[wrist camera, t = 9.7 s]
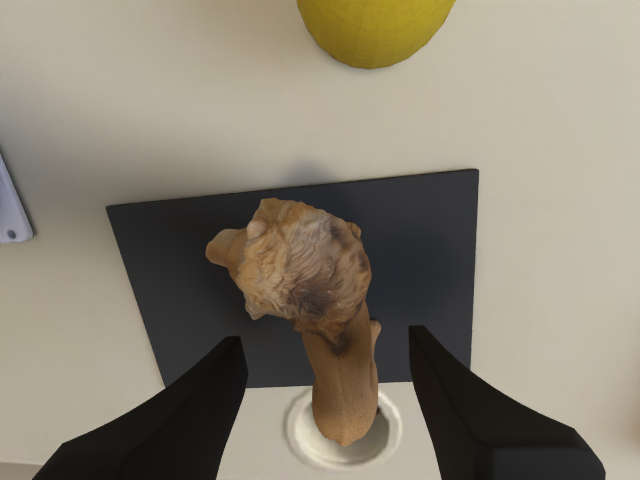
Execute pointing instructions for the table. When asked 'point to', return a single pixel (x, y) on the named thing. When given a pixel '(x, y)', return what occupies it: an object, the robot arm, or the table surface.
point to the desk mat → (275, 332)
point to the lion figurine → (312, 302)
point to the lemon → (373, 28)
